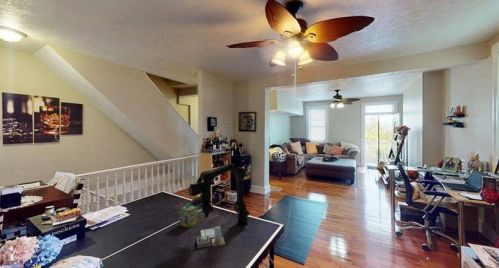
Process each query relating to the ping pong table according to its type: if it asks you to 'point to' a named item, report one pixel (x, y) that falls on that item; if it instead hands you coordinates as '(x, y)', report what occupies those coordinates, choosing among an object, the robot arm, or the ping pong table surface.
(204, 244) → the button housing
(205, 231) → the sheet
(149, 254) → the ping pong table surface
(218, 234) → the chalk stick
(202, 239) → the button
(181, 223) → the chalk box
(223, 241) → the cork pad
